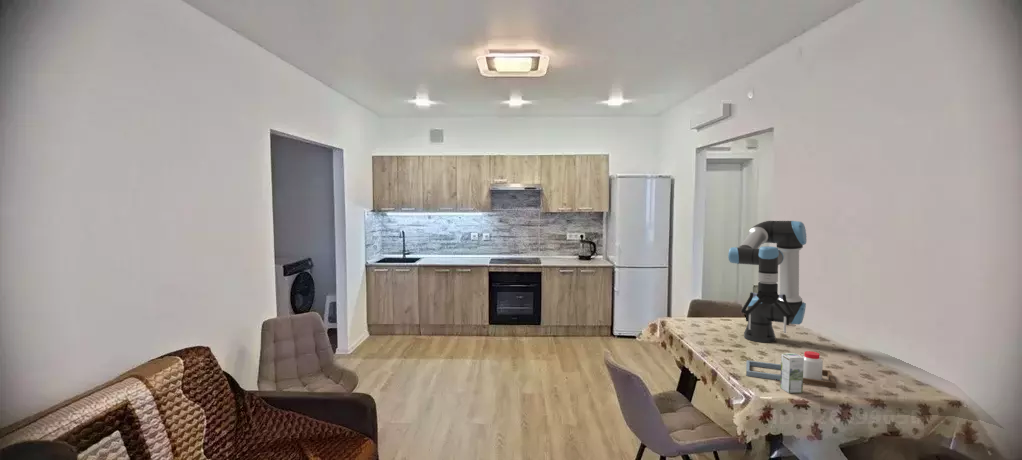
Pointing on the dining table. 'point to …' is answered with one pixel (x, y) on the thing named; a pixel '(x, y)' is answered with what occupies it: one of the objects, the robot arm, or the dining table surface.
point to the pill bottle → (812, 365)
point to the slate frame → (761, 374)
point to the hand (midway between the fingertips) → (766, 330)
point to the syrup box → (792, 372)
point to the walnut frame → (821, 382)
